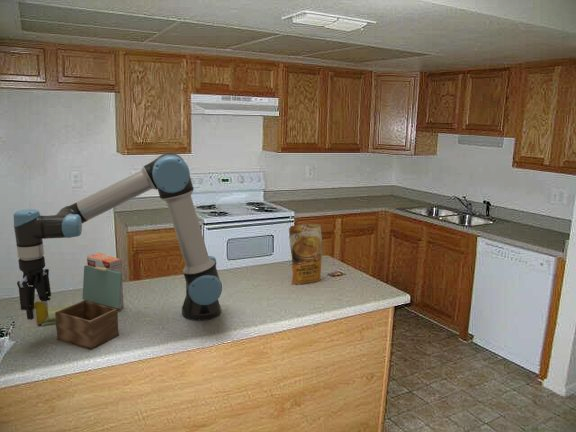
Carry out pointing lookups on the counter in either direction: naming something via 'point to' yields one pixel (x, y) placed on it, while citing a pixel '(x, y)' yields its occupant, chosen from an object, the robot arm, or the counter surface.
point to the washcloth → (53, 314)
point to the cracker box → (108, 263)
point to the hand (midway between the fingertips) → (39, 323)
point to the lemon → (41, 312)
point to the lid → (102, 286)
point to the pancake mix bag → (306, 252)
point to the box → (87, 324)
